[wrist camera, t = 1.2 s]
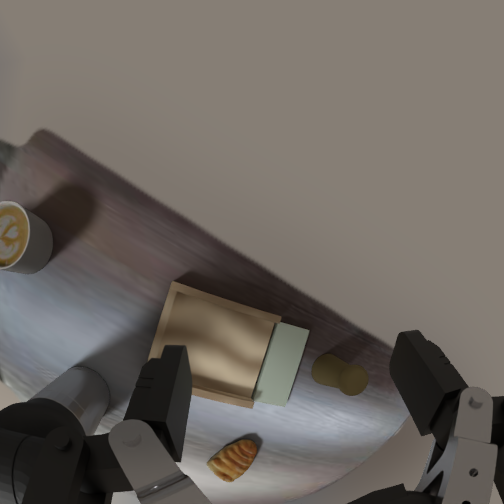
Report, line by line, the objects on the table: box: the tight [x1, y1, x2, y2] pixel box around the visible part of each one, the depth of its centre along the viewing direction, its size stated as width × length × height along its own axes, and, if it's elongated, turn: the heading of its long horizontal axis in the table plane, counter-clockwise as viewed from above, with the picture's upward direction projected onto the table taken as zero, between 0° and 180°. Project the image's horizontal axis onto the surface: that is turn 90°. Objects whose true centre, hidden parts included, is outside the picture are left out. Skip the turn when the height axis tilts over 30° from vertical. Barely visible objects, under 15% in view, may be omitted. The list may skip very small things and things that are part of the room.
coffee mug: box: [0, 201, 53, 274], centre depth 37 cm, size 13×10×10 cm
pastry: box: [207, 439, 257, 482], centre depth 45 cm, size 9×7×4 cm
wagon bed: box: [147, 281, 281, 409], centre depth 47 cm, size 16×18×4 cm
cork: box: [312, 354, 368, 396], centre depth 48 cm, size 6×6×11 cm
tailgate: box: [252, 322, 310, 407], centre depth 51 cm, size 14×1×6 cm
